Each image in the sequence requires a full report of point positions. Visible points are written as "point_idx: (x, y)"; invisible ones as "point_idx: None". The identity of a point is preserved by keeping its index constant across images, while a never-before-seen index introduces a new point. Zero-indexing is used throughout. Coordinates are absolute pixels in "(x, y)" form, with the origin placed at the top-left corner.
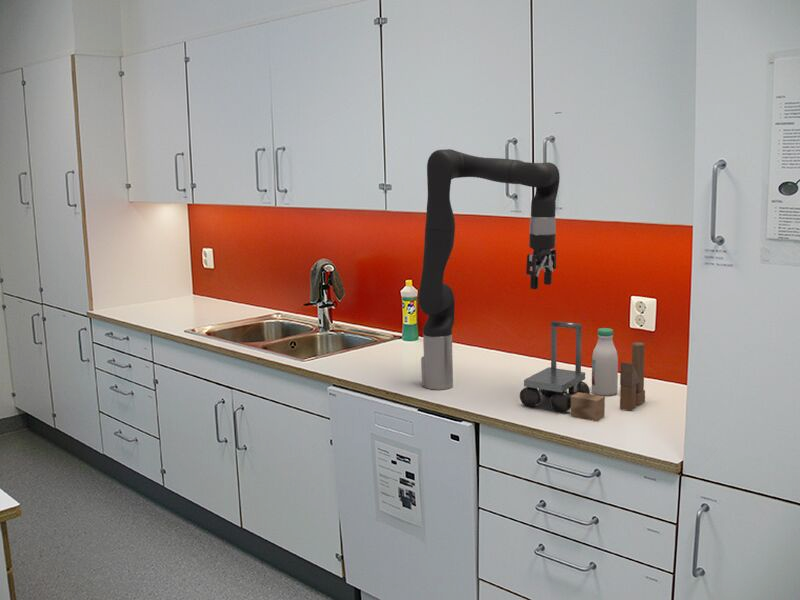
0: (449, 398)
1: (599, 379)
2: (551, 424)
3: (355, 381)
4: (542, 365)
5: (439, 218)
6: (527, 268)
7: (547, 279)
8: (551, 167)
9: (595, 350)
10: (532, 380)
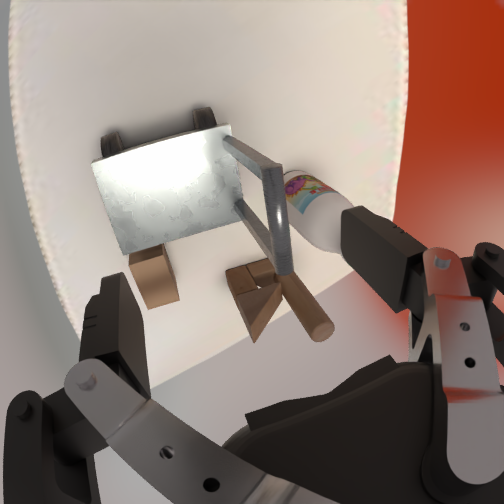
0: (47, 3)
1: None
2: (75, 253)
3: None
4: (376, 4)
5: None
6: (12, 464)
7: (364, 253)
8: None
9: (320, 219)
10: (101, 182)
